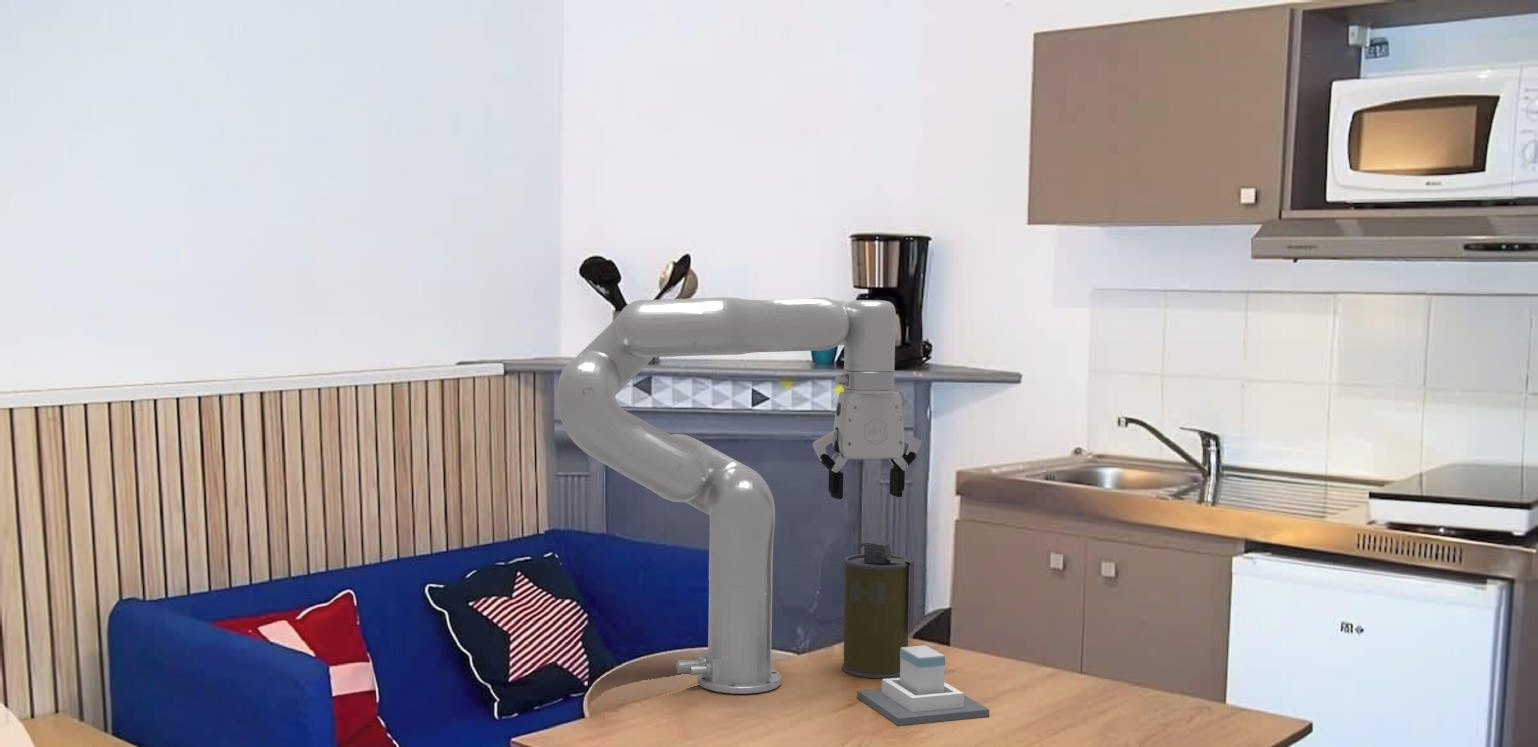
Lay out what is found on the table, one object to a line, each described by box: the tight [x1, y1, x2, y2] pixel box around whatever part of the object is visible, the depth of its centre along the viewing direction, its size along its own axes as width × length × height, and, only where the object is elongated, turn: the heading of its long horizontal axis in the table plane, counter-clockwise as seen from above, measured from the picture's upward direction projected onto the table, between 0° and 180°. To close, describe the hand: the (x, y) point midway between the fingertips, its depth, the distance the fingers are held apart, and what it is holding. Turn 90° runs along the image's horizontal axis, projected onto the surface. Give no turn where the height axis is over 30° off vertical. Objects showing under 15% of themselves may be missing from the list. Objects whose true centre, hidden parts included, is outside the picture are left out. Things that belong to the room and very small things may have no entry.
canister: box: [841, 540, 915, 680], centre depth 221 cm, size 11×10×20 cm
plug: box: [899, 645, 946, 696], centre depth 202 cm, size 4×6×7 cm
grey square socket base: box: [856, 677, 990, 726], centre depth 202 cm, size 14×14×3 cm
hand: (866, 496), depth 213 cm, fingers open, 9 cm apart
